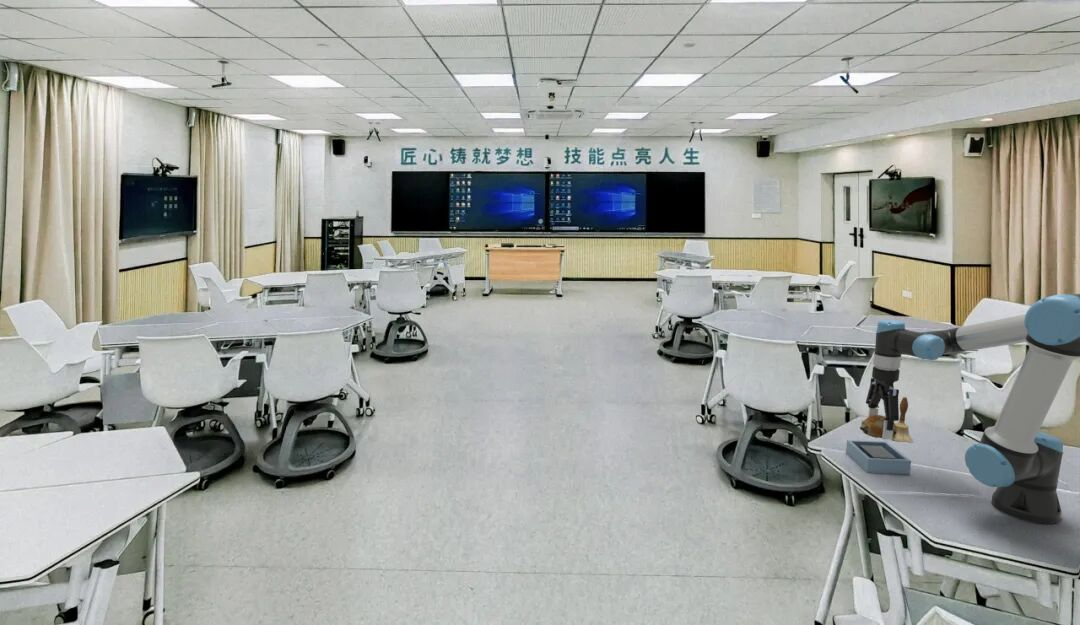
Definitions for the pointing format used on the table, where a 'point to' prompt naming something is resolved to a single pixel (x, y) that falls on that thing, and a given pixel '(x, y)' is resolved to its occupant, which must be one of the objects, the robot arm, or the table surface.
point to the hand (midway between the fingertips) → (879, 432)
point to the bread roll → (875, 426)
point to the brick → (876, 452)
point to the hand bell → (902, 424)
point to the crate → (877, 464)
